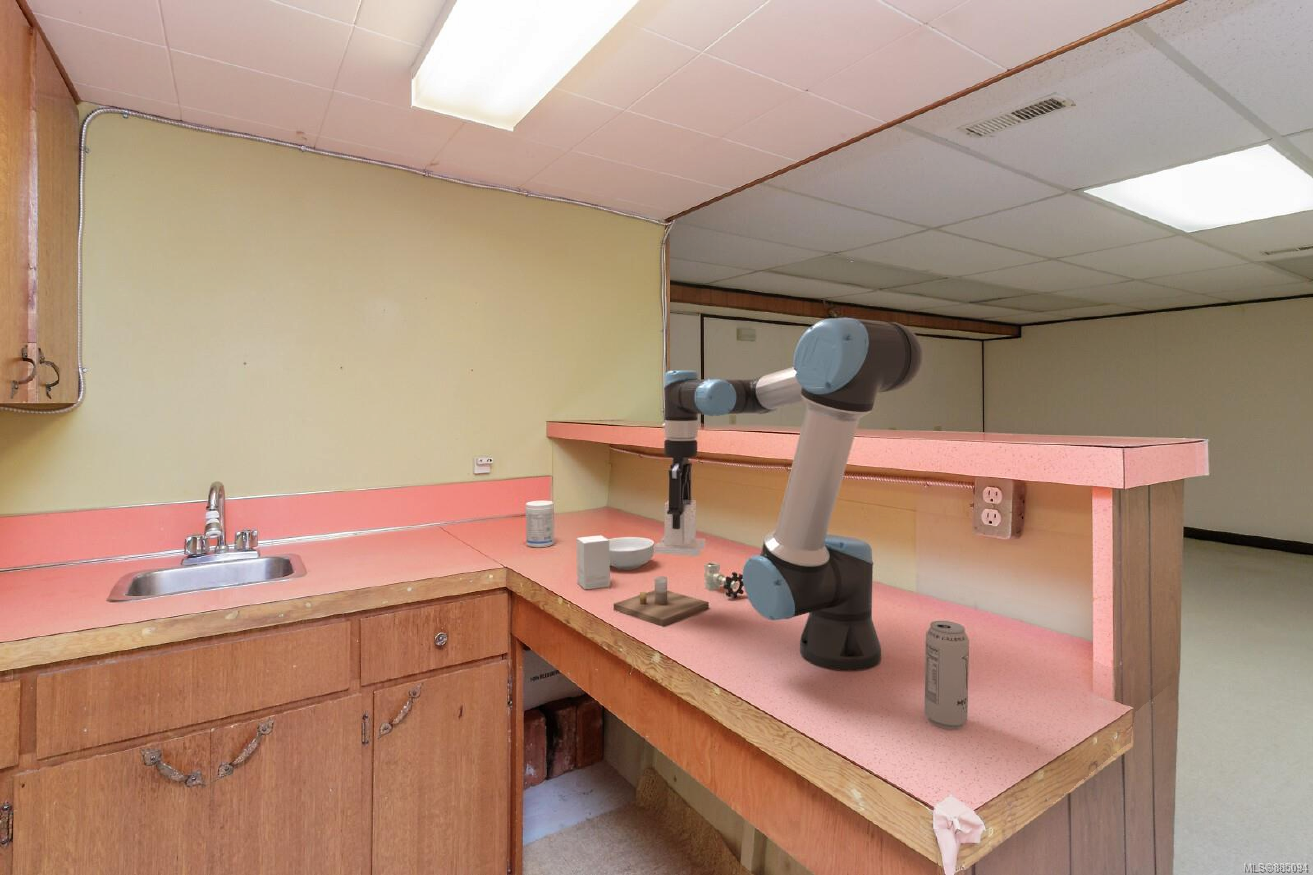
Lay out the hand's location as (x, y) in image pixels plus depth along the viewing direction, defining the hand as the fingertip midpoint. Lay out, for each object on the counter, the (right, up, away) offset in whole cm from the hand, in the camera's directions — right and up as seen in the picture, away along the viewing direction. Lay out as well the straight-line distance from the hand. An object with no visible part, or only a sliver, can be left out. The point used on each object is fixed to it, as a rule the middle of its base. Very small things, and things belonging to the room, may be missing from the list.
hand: (680, 538), depth 145 cm
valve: (+11, -17, +18) cm, 27 cm away
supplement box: (-22, -17, +25) cm, 38 cm away
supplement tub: (-45, -14, +72) cm, 86 cm away
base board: (-4, -18, +5) cm, 19 cm away
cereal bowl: (-14, -15, +44) cm, 48 cm away
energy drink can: (+39, -21, -48) cm, 65 cm away
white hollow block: (0, -2, 0) cm, 2 cm away
